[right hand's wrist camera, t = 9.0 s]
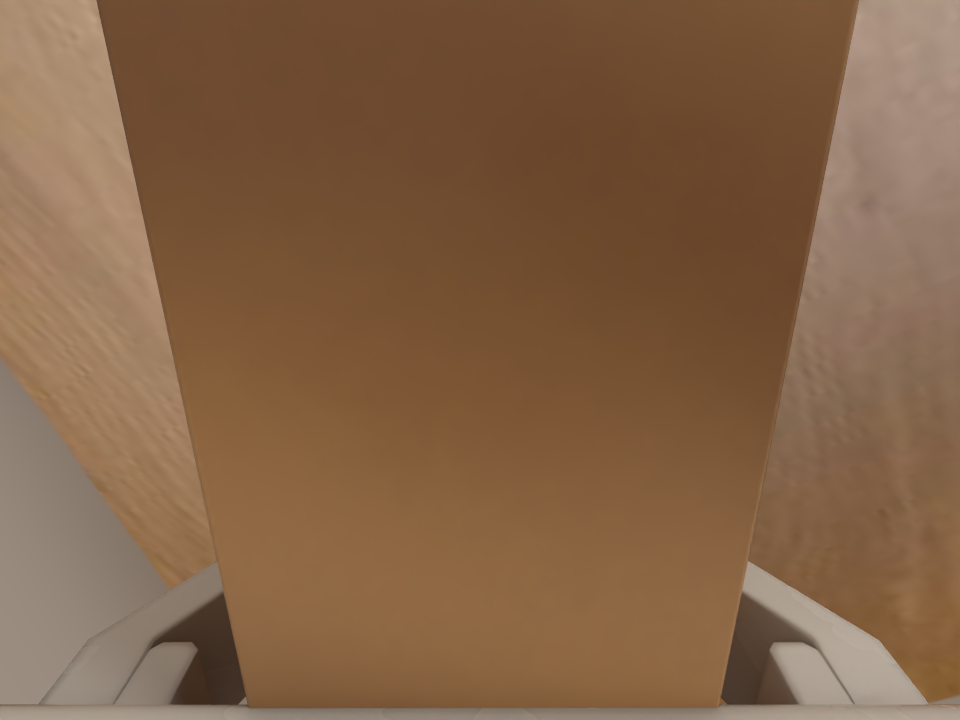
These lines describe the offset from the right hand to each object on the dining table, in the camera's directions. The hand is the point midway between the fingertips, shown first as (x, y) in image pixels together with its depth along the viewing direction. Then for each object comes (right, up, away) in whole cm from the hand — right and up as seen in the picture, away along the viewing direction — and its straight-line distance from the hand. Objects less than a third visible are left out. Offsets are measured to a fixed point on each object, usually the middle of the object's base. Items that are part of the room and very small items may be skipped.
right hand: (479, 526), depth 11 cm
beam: (0, +31, -9) cm, 32 cm away
